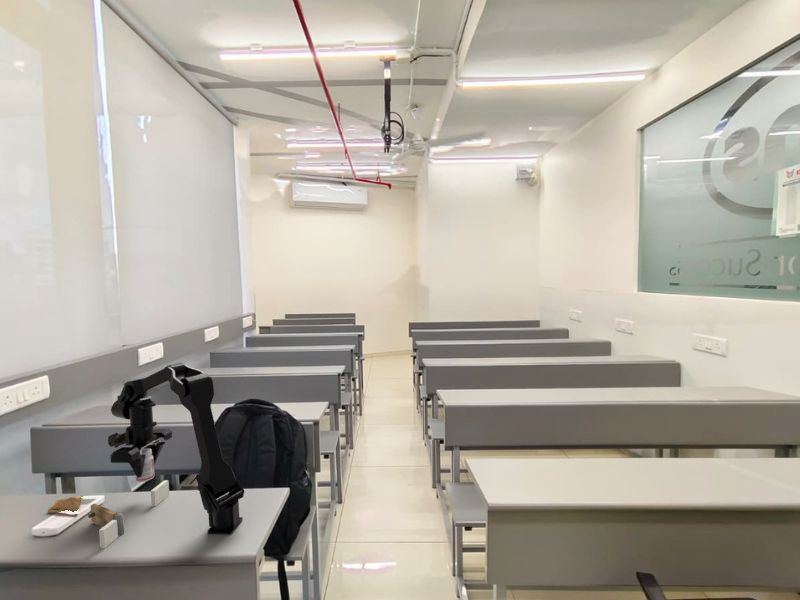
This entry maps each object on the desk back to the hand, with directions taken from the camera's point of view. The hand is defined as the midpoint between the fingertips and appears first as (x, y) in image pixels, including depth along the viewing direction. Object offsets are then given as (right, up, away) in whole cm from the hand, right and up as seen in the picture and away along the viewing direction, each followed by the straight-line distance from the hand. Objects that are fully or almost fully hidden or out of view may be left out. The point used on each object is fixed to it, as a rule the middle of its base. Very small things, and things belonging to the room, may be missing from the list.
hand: (145, 472), depth 123 cm
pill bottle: (0, -2, 0) cm, 2 cm away
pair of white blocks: (+5, -8, -10) cm, 14 cm away
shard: (-19, -9, -3) cm, 21 cm away
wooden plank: (-2, -8, -14) cm, 17 cm away
